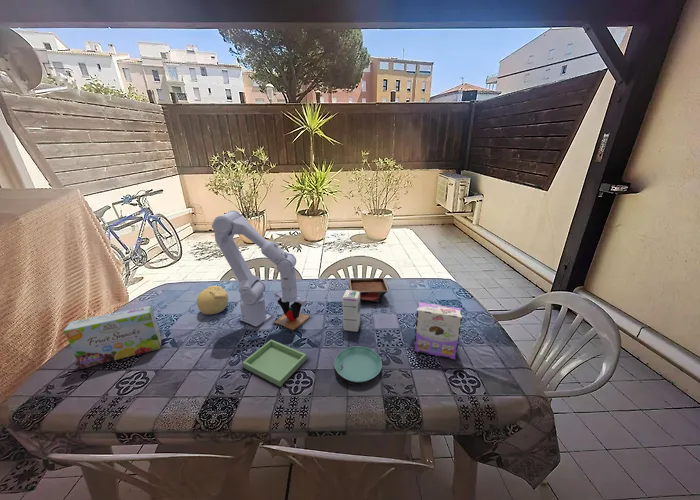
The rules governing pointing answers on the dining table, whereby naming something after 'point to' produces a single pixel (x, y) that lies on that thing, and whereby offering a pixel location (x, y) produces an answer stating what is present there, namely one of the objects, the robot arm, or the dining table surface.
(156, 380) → the dining table surface
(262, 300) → the robot arm
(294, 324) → the board
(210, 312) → the sculpture
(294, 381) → the dining table surface
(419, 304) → the candy box
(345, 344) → the dining table surface
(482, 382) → the dining table surface
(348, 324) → the syrup box
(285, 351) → the tray
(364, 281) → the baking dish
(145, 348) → the snack box
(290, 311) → the strawberry
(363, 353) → the saucer
